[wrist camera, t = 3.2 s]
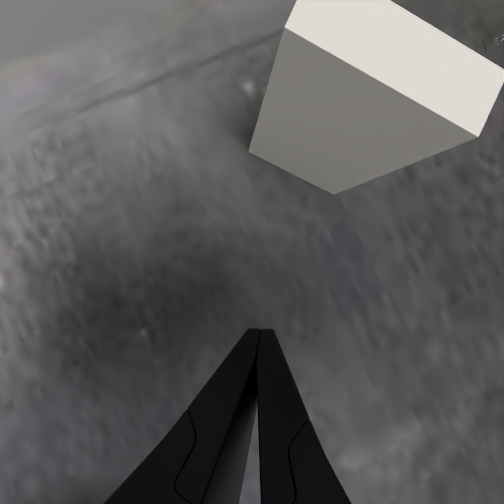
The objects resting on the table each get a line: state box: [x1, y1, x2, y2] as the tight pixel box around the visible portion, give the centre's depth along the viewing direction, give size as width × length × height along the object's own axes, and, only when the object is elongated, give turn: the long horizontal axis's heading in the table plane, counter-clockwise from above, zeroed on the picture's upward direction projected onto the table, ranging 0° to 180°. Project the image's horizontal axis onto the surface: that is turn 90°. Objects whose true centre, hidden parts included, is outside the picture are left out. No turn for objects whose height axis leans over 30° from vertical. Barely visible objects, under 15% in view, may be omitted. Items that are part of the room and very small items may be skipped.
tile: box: [248, 0, 504, 195], centre depth 15 cm, size 2×7×12 cm, turn 65°
